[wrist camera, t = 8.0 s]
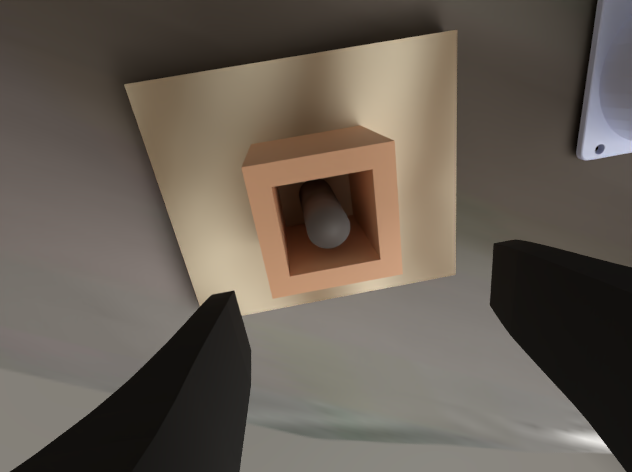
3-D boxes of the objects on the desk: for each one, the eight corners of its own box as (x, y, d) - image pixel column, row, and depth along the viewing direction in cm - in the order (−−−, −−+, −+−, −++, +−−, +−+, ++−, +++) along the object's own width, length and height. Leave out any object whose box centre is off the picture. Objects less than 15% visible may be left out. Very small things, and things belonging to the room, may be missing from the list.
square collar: (360, 125, 16) (394, 140, 11) (370, 226, 18) (403, 274, 13) (251, 144, 16) (241, 167, 11) (273, 244, 18) (272, 298, 13)
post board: (444, 33, 16) (526, 7, 11) (445, 264, 21) (503, 324, 16) (134, 84, 15) (63, 83, 10) (209, 309, 20) (186, 387, 15)
